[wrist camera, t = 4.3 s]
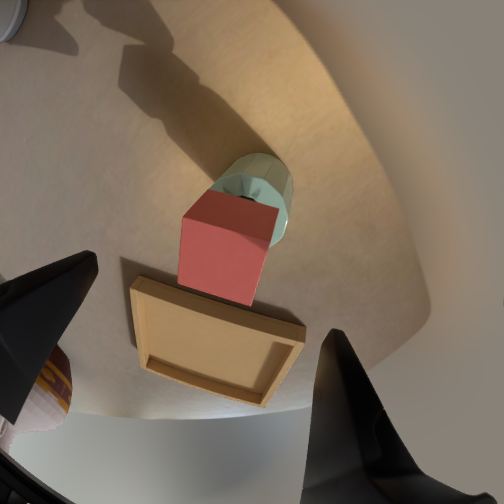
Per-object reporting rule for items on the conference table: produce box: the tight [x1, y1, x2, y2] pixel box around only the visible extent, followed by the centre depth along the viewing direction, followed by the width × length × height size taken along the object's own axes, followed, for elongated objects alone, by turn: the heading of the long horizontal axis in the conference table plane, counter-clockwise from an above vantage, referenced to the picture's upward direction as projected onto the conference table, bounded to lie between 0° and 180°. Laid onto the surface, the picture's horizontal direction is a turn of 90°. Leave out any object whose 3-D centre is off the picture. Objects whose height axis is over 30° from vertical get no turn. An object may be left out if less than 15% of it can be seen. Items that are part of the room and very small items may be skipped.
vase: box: [209, 153, 294, 248], centre depth 17 cm, size 5×5×5 cm
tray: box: [130, 275, 306, 408], centre depth 29 cm, size 17×15×2 cm
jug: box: [0, 346, 72, 454], centre depth 31 cm, size 20×18×30 cm
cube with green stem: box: [177, 189, 279, 306], centre depth 15 cm, size 3×3×9 cm
